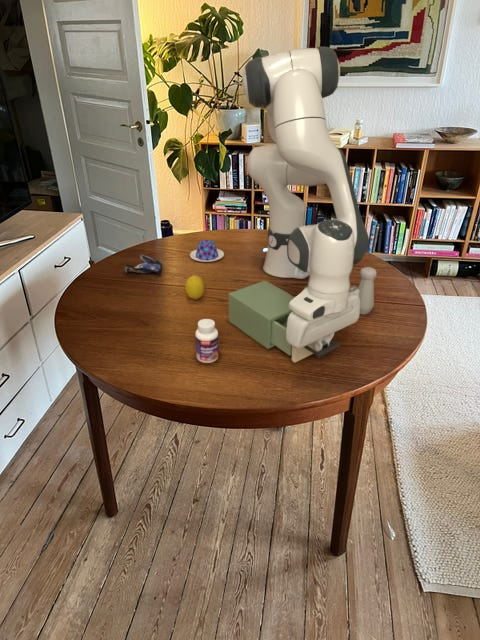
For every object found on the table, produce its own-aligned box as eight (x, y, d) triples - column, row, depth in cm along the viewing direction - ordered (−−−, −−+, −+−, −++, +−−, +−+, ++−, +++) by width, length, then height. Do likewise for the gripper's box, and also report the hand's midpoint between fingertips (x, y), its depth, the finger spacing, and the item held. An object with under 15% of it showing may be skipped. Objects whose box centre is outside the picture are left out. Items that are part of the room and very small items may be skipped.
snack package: (137, 262, 159) (119, 275, 150) (138, 245, 156) (119, 258, 146) (169, 273, 157) (151, 287, 147) (170, 256, 153) (153, 269, 144)
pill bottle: (200, 365, 109) (199, 331, 104) (193, 353, 114) (191, 319, 109) (222, 360, 111) (221, 326, 106) (214, 348, 115) (213, 315, 110)
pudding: (189, 264, 158) (188, 249, 155) (190, 250, 168) (189, 236, 165) (225, 262, 159) (224, 248, 156) (223, 249, 169) (222, 235, 166)
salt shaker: (350, 313, 130) (356, 271, 123) (353, 304, 134) (359, 263, 127) (371, 317, 128) (378, 275, 121) (373, 307, 132) (381, 266, 126)
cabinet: (304, 332, 122) (307, 303, 117) (267, 349, 115) (268, 319, 111) (264, 307, 133) (265, 280, 128) (228, 321, 126) (228, 293, 122)
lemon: (202, 305, 134) (200, 280, 130) (183, 303, 135) (181, 278, 131) (207, 296, 139) (206, 271, 134) (189, 294, 140) (187, 270, 135)
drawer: (344, 356, 111) (348, 332, 108) (310, 374, 105) (313, 349, 102) (286, 320, 125) (287, 297, 122) (253, 334, 119) (253, 311, 116)
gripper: (349, 278, 108) (342, 328, 115) (283, 304, 98) (280, 357, 105) (370, 288, 104) (362, 340, 111) (303, 317, 93) (299, 371, 100)
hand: (321, 349), depth 108 cm, fingers closed, pressing on drawer
